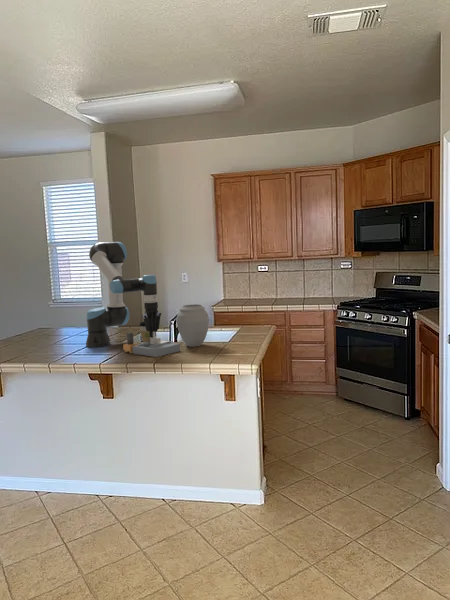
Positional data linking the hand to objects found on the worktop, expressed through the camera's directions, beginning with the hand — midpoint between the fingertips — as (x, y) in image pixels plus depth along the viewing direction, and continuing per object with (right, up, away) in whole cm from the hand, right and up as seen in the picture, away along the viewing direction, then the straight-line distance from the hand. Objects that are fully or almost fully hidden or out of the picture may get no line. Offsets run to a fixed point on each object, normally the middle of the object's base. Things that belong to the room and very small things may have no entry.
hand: (153, 342), depth 265 cm
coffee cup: (-6, -4, +17) cm, 18 cm away
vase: (+23, -3, +12) cm, 26 cm away
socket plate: (+2, -5, -1) cm, 6 cm away
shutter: (+3, -1, +4) cm, 5 cm away
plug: (-13, -6, +3) cm, 15 cm away
